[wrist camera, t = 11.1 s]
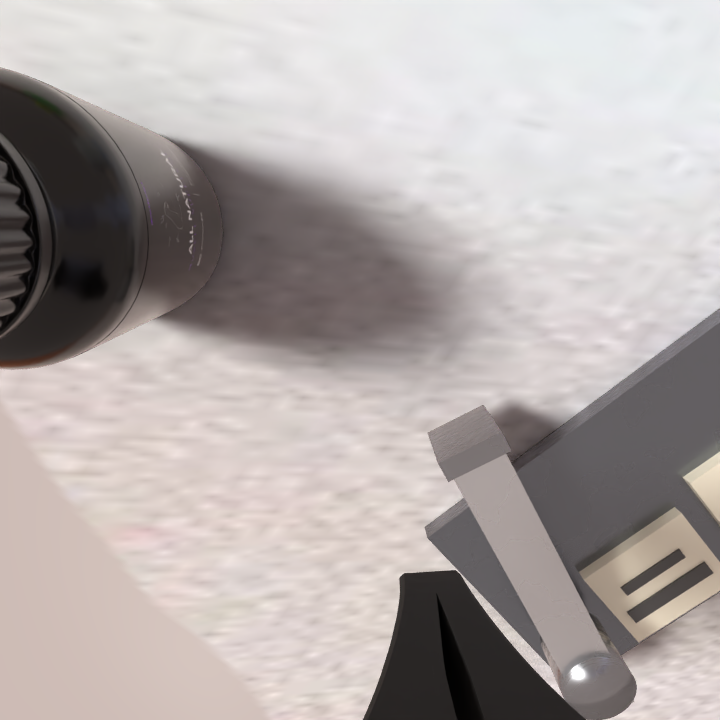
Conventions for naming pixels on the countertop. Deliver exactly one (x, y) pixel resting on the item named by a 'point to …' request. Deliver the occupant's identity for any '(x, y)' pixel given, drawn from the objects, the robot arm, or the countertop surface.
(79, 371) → the countertop surface
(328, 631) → the countertop surface
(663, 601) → the label plate
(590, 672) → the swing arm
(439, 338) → the countertop surface
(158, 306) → the supplement bottle
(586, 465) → the dark gray base board
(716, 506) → the label plate
